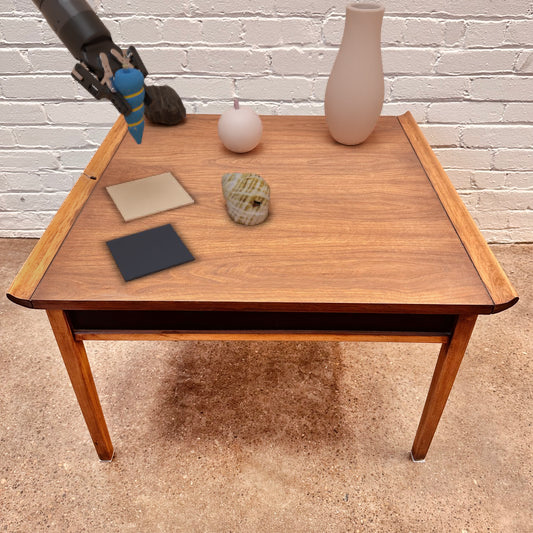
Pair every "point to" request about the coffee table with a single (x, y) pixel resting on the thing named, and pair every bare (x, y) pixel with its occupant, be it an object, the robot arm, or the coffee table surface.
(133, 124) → the ornament
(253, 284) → the coffee table surface
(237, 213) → the seashell
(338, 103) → the vase
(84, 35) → the robot arm
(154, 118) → the rock
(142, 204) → the cream mat
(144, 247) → the slate mat
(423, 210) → the coffee table surface
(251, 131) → the ornament
